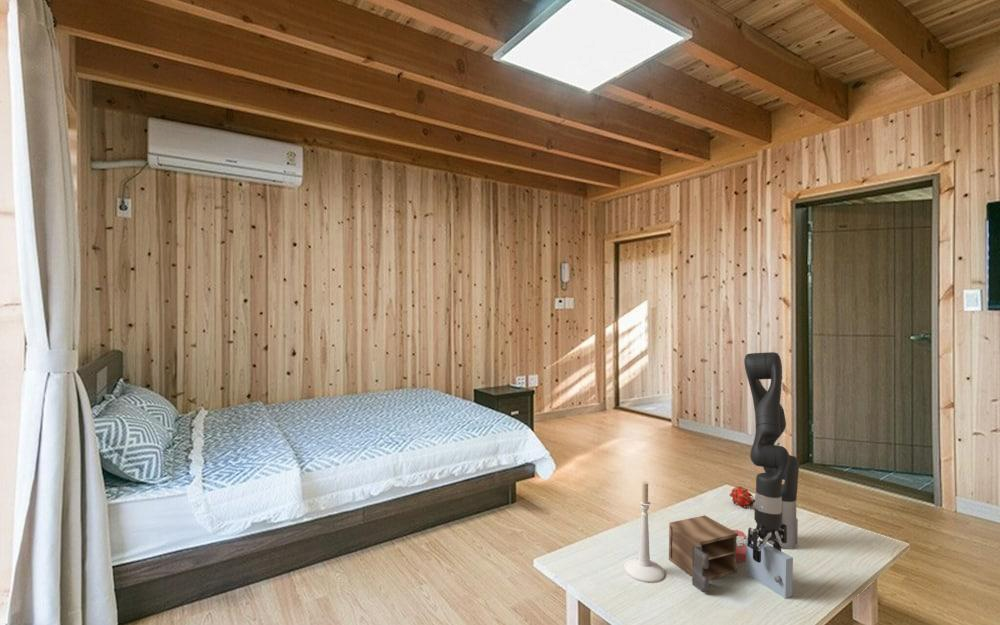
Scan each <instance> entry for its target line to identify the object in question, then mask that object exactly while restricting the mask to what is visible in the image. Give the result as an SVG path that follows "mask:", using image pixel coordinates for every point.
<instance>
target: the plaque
mask: <svg viewBox="0 0 1000 625" xmlns="http://www.w3.org/2000/svg"><path fill="white" fill-rule="evenodd" d="M732 530H733V531H735V532H736V533H738V536H737V538H736V562H741V563H742V562H743V563H744V562H745V563H746V538H747V537H748V536H747V535H746V534H745V533H744V531H742V530H738V529H732Z"/></svg>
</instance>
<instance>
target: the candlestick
mask: <svg viewBox="0 0 1000 625" xmlns="http://www.w3.org/2000/svg"><path fill="white" fill-rule="evenodd" d="M639 504H640V508H641V510H642V512H641V518H640V519H641V520H640V533H639V534H640V535H639V546H638V548H639V549H638V551H639V552H638V557H636V558H635V557H634V558H632V559H629V560H627V561H626V562H625V563H624V564H623V570H624V572H625V574H626V575H627V576H628V577H630V578H631V579H633V580H636V581H637V582H638V581H639V582H643V583H648V584H651V583H653V584H654V583H659V582H661V581H662V580H664V578H665V576H666V575H665V574H666V573H665V570H664V568H663V567H662V565H660V564H658V563H657V562H656V561H653V560H651V558H650V533H649V514H648V510H649V509H650V506H651V502H650V501H649V482H648V481H642V482H641V500H639Z"/></svg>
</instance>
